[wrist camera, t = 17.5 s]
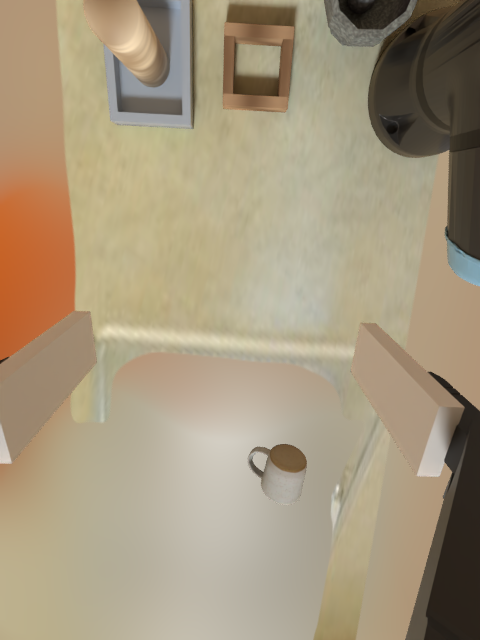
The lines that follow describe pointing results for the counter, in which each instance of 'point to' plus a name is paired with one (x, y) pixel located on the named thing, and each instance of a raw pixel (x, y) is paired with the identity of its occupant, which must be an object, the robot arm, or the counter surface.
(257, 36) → the socket block
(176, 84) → the tray
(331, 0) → the mortar and pestle
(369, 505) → the counter surface
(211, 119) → the counter surface
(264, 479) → the ceramic mug
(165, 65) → the dowel
